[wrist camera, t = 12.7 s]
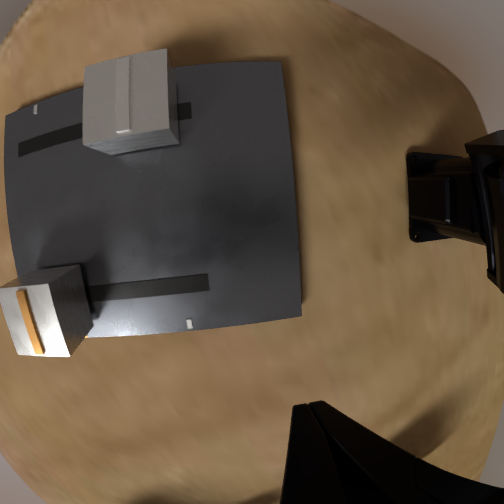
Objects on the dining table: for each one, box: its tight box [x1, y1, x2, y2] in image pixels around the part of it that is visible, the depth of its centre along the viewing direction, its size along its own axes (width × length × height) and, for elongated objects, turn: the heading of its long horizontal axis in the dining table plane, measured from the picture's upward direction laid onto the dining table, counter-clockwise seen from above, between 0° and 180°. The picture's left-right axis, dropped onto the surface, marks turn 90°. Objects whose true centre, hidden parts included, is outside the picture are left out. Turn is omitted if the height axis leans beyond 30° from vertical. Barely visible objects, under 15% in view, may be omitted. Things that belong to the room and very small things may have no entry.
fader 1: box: [0, 265, 94, 357], centre depth 14 cm, size 4×4×4 cm
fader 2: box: [83, 48, 179, 155], centre depth 12 cm, size 4×4×4 cm
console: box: [4, 61, 302, 337], centre depth 16 cm, size 19×16×1 cm
